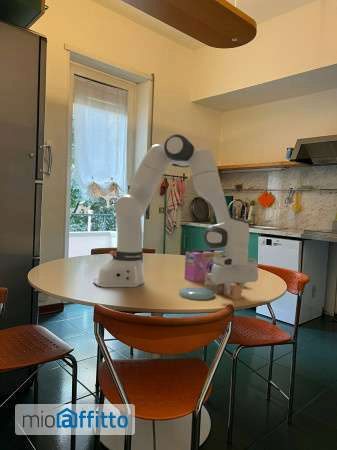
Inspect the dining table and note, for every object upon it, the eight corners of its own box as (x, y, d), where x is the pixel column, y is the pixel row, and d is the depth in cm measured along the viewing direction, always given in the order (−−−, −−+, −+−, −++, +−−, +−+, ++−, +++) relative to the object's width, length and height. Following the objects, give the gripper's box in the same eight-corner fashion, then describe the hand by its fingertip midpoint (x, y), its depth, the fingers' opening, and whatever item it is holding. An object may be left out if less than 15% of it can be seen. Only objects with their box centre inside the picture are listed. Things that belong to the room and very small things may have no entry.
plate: (188, 301, 118) (188, 298, 118) (173, 291, 131) (173, 288, 131) (220, 298, 123) (221, 295, 123) (203, 289, 136) (203, 286, 136)
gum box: (218, 274, 169) (220, 249, 169) (229, 277, 163) (231, 251, 162) (183, 278, 155) (185, 251, 155) (194, 282, 149) (195, 253, 148)
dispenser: (217, 295, 128) (218, 278, 128) (204, 288, 138) (205, 272, 138) (236, 293, 132) (237, 277, 131) (222, 286, 142) (223, 272, 142)
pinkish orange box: (234, 299, 123) (234, 286, 123) (218, 291, 134) (219, 279, 134) (240, 299, 124) (241, 286, 124) (224, 291, 135) (225, 279, 135)
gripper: (252, 257, 132) (250, 289, 133) (209, 258, 124) (208, 293, 125) (262, 259, 126) (260, 294, 127) (218, 261, 118) (216, 297, 119)
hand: (234, 293), depth 126 cm, fingers closed on pinkish orange box, 3 cm apart
